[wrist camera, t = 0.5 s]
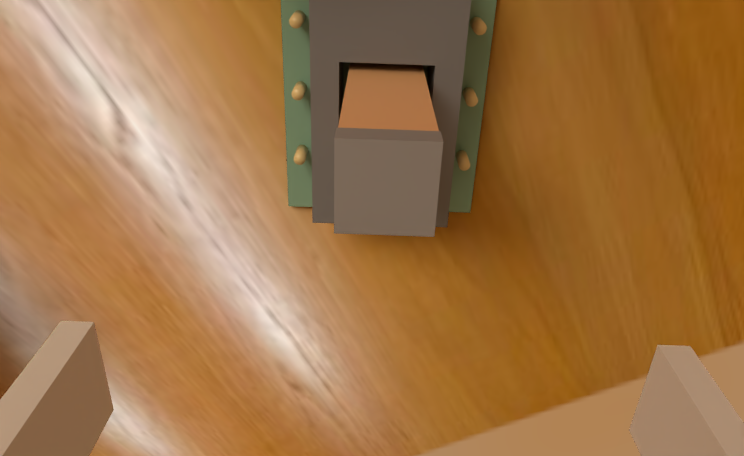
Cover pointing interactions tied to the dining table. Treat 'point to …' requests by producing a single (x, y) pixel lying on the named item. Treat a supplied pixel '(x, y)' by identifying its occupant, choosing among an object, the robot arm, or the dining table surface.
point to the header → (384, 46)
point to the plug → (386, 153)
